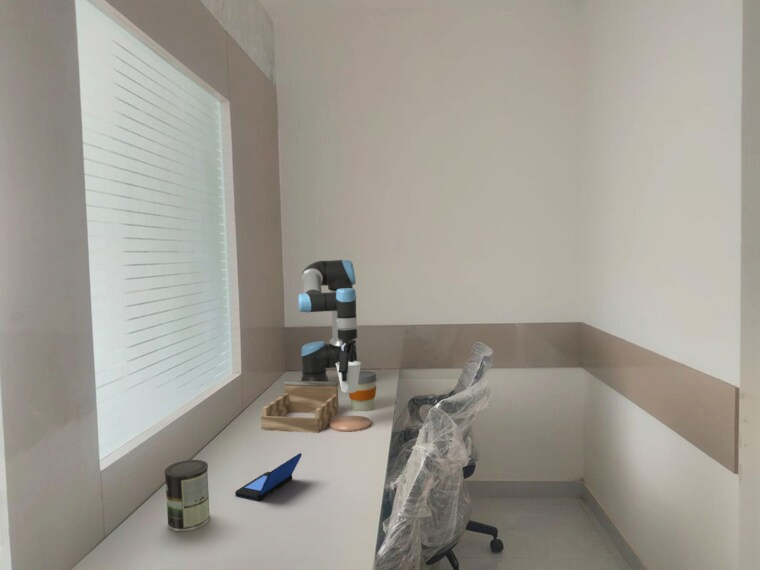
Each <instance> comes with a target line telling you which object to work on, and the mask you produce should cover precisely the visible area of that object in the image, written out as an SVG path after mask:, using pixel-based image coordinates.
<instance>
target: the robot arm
mask: <svg viewBox="0 0 760 570" xmlns="http://www.w3.org/2000/svg"><path fill="white" fill-rule="evenodd" d="M353 264H354V263H353V262H352V261H351V260H350V259H337V260H335V259H334V260H318V261H314V262H313V263H310V264H308V265H307V266H306V267H305V268H304V270H303V271H302V273H301V283H302V285H303V293H299V294H298V310H299V312H300V313H317V312H318V313H320V312H321V313H322V312H331V325H332V326H331V327H332V329H331V330H332V331H331V333H332V338H330V340H329V344H328V343H327V344H326V342H325V341H323V340H321V341H312V342H309V343H306V344H303V346H302V347H301V353H300V354H301V371H302V372H301V373H302V376H301V379H300V381H316V382H330V380H329V378H328V375H327V374H328V373H327V369H333V368H334V369H335V368H336V369H337V366H336V363H338V362H339V373H341V384H342V390H349V372H348V363H349V361H350V362H353V361H358V356H357V355H358V354H357V349H358V347H357V342H356V341H357V340H356V339H357V338H358V329H357V327H358V321H357V320H358V317H357V293H356V289H355V288H353V286H354V285H356V275H355V269H354V266H353ZM322 286H323V287H325V286H327V289H328V291H330V292H322ZM343 368H344V369H343Z"/></svg>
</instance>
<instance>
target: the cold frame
mask: <svg viewBox="0 0 760 570" xmlns="http://www.w3.org/2000/svg"><path fill="white" fill-rule="evenodd" d="M283 384H284V393H283V394H282V395H280V396H279V397H277V398H276V399H274V400H273V401H271V402H270V403H268V404H267V405H265V406H263V407H262V408H261V409H262V412H261V413H262V416H261V417H260V425H261V429H265V430H264V431H274V430H279V431H278V432H294V431H295V432H296V433H297V432H298V433H300V432H301V433H314V434H315V433H316V434H317V433H320V432H321V430H322V429H324V427H326V426H327V425H328V424H330V421H332V420H333V419H335V417H336V416H337V415H338V414H339V389H338V386H339V385H338V384H339V381H338V382H337V381H329V382H316V381H301V380H285V381H283ZM289 413H301V414H305V413H306V414H314V417H300V416H299V417H298V416H297V417H295V416H286V415H287V414H289ZM295 432H294V433H295Z"/></svg>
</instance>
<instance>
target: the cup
mask: <svg viewBox="0 0 760 570" xmlns="http://www.w3.org/2000/svg"><path fill="white" fill-rule="evenodd" d="M361 364H362V362H361V361H359V360H357V361H353V362H350V361H349V363H348V372H349V390H342V384H341V373H339V362H338V363H336V366H337V368H336V372H337V375H338V382H339V385H340V391H341V393H343V394H344V393H345V394H349V393H354V392H356V391H357V388H358V380H359V373H360V371H361ZM343 369H344V368H343Z"/></svg>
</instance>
